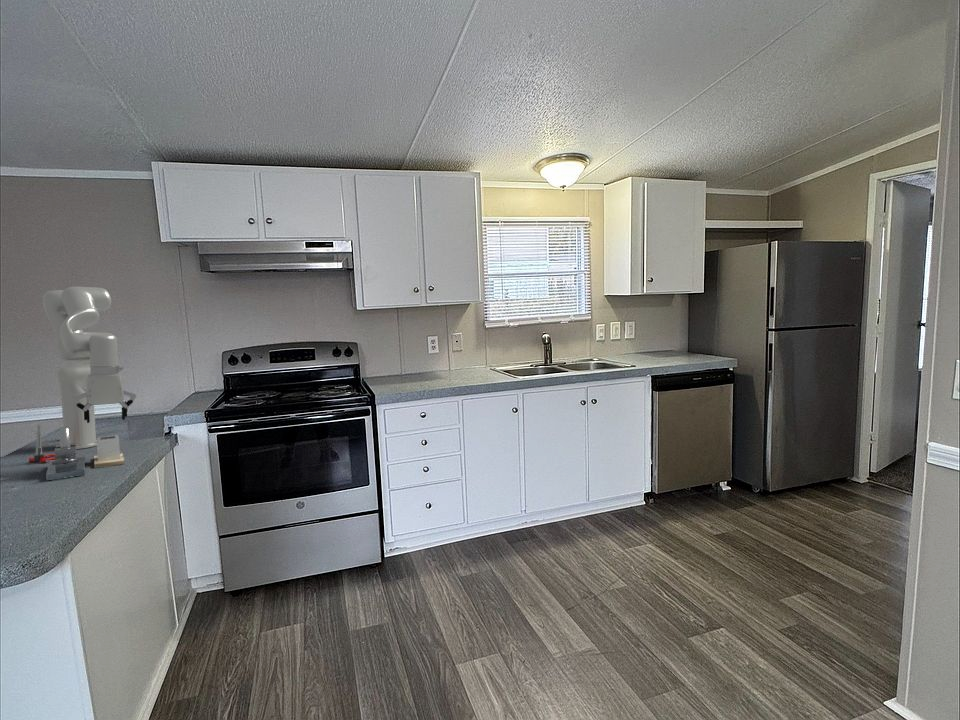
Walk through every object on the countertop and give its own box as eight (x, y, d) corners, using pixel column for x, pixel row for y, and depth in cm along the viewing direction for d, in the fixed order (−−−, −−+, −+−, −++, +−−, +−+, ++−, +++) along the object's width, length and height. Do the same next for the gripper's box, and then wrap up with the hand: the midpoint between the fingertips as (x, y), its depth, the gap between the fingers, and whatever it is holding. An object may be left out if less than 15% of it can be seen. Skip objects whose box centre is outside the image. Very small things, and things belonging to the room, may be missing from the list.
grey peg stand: (50, 467, 164) (47, 425, 163) (85, 462, 169) (82, 421, 168) (46, 481, 150) (43, 435, 148) (84, 475, 155) (82, 431, 154)
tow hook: (53, 456, 178) (25, 462, 169) (53, 420, 178) (25, 424, 169) (73, 457, 177) (47, 463, 168) (73, 421, 176) (47, 425, 167)
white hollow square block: (97, 457, 171) (96, 437, 171) (119, 454, 175) (118, 434, 174) (98, 461, 167) (96, 440, 166) (120, 458, 170) (119, 438, 170)
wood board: (94, 458, 174) (94, 455, 174) (122, 455, 179) (122, 451, 179) (94, 468, 163) (94, 464, 163) (124, 464, 168) (124, 460, 168)
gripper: (134, 368, 177) (136, 415, 179) (71, 370, 166) (73, 421, 168) (136, 371, 171) (137, 420, 173) (71, 373, 160) (73, 425, 162)
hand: (106, 420), depth 170 cm, fingers open, 9 cm apart
